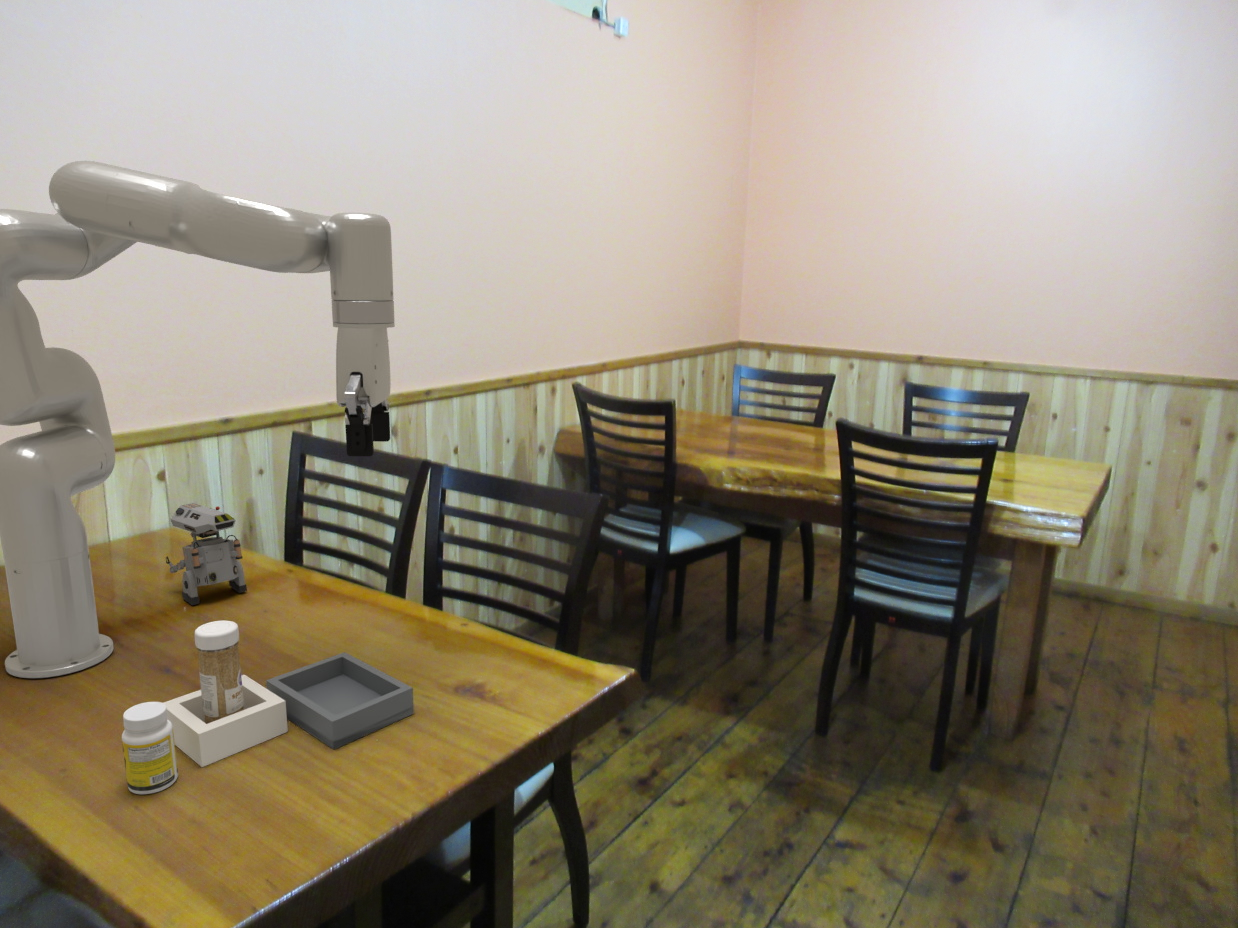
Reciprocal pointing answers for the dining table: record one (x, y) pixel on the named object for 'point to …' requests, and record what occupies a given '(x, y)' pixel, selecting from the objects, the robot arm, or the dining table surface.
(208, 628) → the sprinkles bottle
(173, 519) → the figurine
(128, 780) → the supplement bottle
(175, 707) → the frame
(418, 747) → the dining table surface
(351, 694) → the charcoal tray
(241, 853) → the dining table surface
